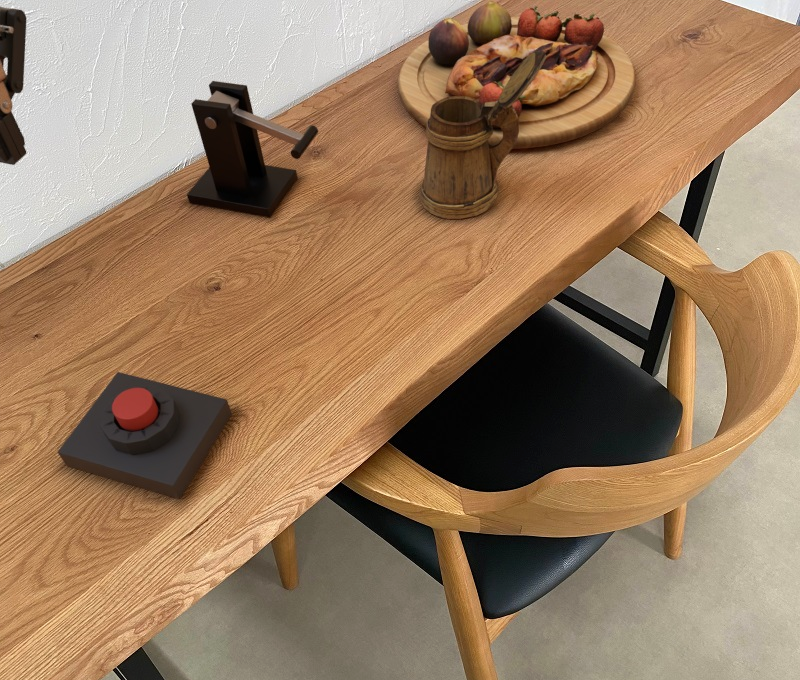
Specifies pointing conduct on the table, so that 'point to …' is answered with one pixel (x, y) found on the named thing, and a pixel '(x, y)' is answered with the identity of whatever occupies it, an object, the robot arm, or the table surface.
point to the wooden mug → (471, 147)
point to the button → (135, 409)
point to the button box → (148, 437)
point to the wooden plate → (501, 56)
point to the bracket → (235, 159)
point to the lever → (268, 125)
